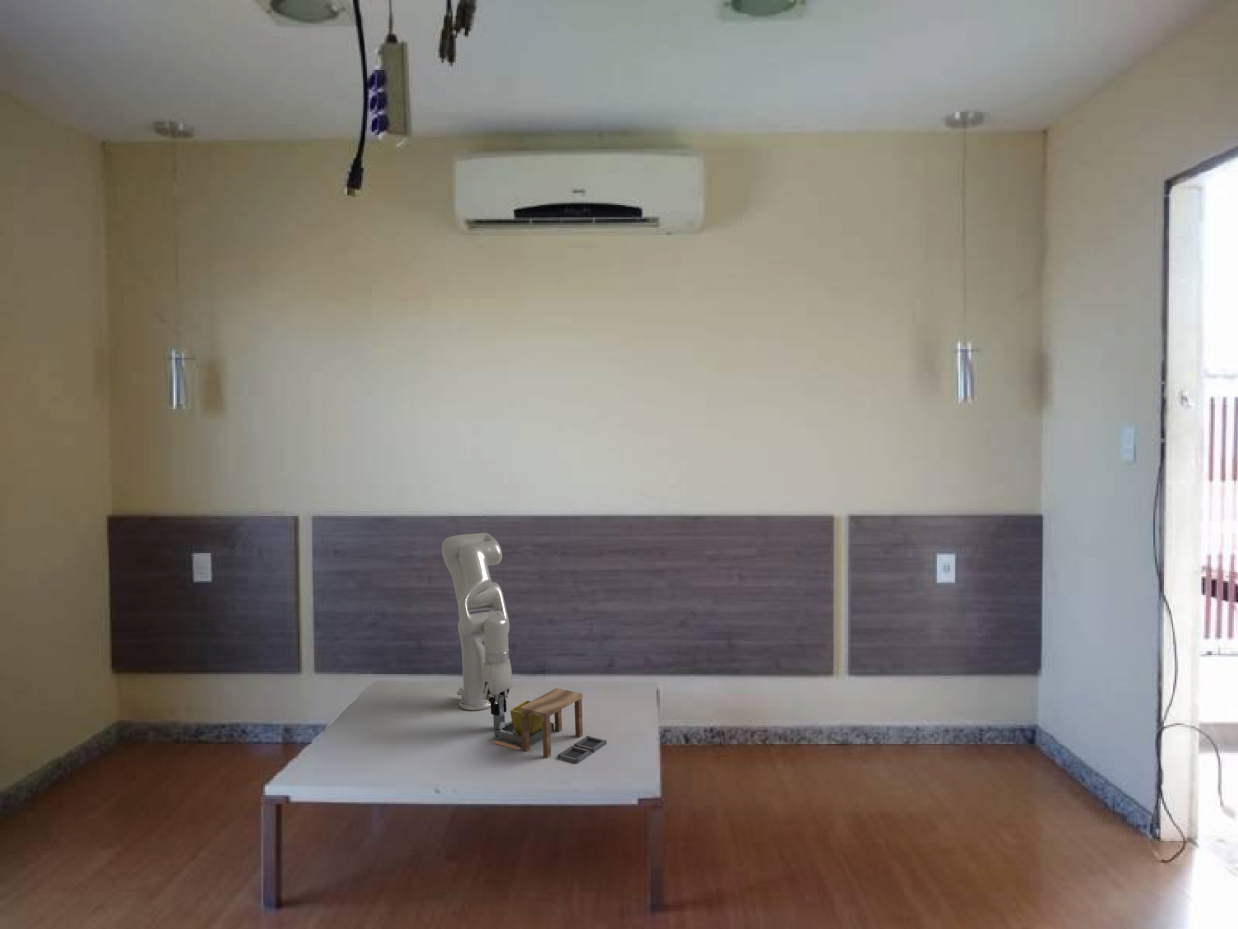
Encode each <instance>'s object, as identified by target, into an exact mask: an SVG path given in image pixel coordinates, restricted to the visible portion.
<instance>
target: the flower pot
mask: <svg viewBox="0 0 1238 929" xmlns="http://www.w3.org/2000/svg"><path fill="white" fill-rule="evenodd" d="M531 701H532V700H525V701H523V702H521V703H519V705H516V706H515V707H513V708H511V709H510V710H509V711H510V718H511V721H512V723H513V727H514V730H515V732H516V734H520V735H522V732H521V711H520V707H521V706H523V705H525V704H527V703H529V702H531ZM540 728H542V717H541V716H537V715H533V714H529V735H530V734H532V733H534V732H535V731H537V730H539V729H540Z"/></svg>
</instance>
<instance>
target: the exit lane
mask: <svg viewBox="0 0 1238 929" xmlns="http://www.w3.org/2000/svg"><path fill="white" fill-rule="evenodd" d="M554 730H555V726H554ZM492 743H493V744H495V745H499V746H503V747H506V748H510V749H514V750H517V751H519V750H522V746H521V747H520V746H516V745H512V744H509V743H506V742H502V741H500V740H493V741H492Z"/></svg>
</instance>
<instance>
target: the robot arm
mask: <svg viewBox="0 0 1238 929" xmlns="http://www.w3.org/2000/svg"><path fill="white" fill-rule="evenodd" d="M441 553H442V558H443V561H444V565H446V567H447V570H448V572H449V574H450V577H451V579H452V582H453V588H454V593H455V597H456V602H457V605H458V609H457V610H458V611H457V612H458V617H459V620H458V623H457V628H458V629H457V630H458V634H459V640H460V647H461V661H462V662H461V665H462V686H461V687H459V688H458V690H457V691H456V695H458V696H461V699H460V700H459V707H460V708H461V709H462V710H463V709H464V710H466V711H480V710H481V711H482V710H486V709H489V708H490V714H491V715H492V716H493V715H496V716H499V715H500V706H499V703H498V694H499V695H503V696H504V713H507V710H508V709H507V699H508V696H509V692H511V689H512V688H513V671H512V665H511V660H510V650H509V633H510V620H509V615H508V611H507V606H506V601H505V598H504V593H503V590H502V588H501V586H500V585H499V583H497V582H495V581H492V578H491V575H490V570H489V566H496V565H499V564H500V563H501V562H502V559H503V551H502V548H501V545H500V544H499V541H497V539H496V538H495V537H493V536H492V535H491V534H490V533H488V532H478V533H467V534H458V535H452V536H448V537H446V538H445V539H444V540H443V541H442V544H441ZM488 610H489V611H488ZM482 611H483V612H482ZM471 612H476V613H471ZM493 696H494V698H493Z"/></svg>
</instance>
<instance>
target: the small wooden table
mask: <svg viewBox="0 0 1238 929" xmlns="http://www.w3.org/2000/svg"><path fill="white" fill-rule="evenodd" d="M582 698H583V693H580V692H577V691H571V690H568V689H562V688H559V687H556V688H554V689H552V690H550V691H548V692H546V693H544V694H543V695H541V696H539V697H537V698H535V699H533V700H530V701H531V702H529V703H527V704H525V705H523V706H521V707H520V711H521V732H522V745H521V751H523V752H526V753H527V752H528V751H530V750H531V748H530V747H531V745H530V742H529V714H533V715H537V716H541V717H542V730H543V738H542V748H543V749H542V754H543V755H542V756H543V758H550V757H551V756H552V744H551V742H552V740H551V733H550V722H551V716H552V715H554V716H553V717H554V727H555V729H554V732H557V733H558V732H559V733H560V732H562V731H563V717H562V716H563V715H562V712H563V711H562V710H563V709H564V708H567V707H569V706H570V705H572V704H573V703H574V725H575V726H574V728H575V729H574V730H575V737H577V738H581V737H582V736H583V735H584V734H583V732H584V731H583V728H584V727H583V700H582Z"/></svg>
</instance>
